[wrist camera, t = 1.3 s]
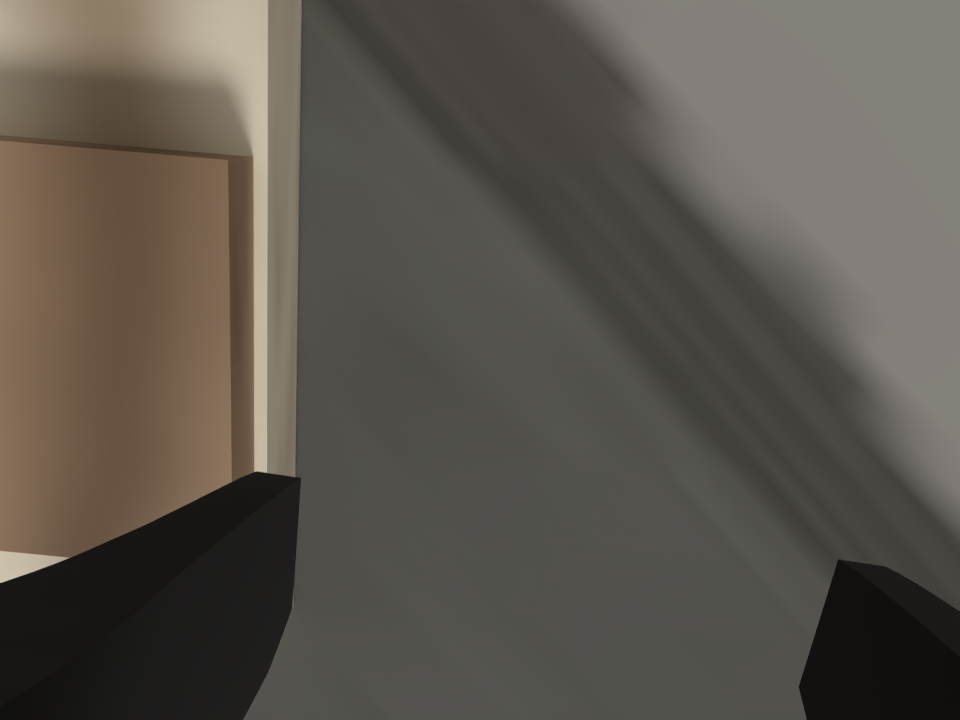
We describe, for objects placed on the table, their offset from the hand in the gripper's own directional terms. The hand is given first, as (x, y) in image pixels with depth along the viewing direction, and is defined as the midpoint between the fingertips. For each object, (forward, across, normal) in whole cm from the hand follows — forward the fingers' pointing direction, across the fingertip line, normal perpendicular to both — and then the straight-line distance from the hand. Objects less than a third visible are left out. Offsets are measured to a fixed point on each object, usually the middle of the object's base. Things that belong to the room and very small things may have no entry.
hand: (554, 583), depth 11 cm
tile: (+7, +10, 0) cm, 12 cm away
